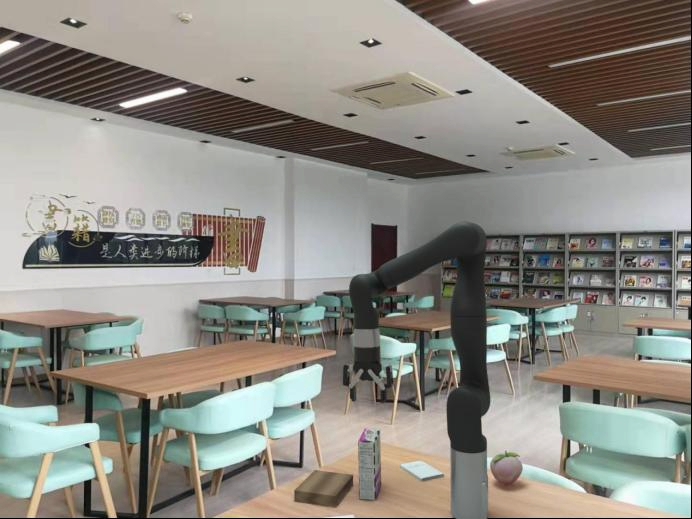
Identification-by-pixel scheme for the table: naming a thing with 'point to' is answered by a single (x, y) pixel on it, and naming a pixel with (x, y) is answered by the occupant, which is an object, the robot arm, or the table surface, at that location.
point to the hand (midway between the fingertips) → (368, 401)
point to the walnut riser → (323, 488)
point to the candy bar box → (369, 464)
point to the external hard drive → (421, 470)
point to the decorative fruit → (506, 467)
